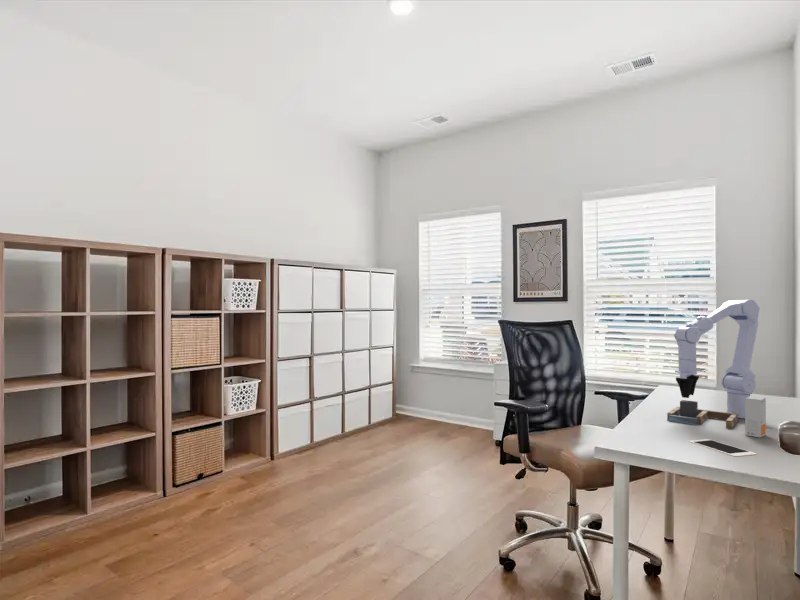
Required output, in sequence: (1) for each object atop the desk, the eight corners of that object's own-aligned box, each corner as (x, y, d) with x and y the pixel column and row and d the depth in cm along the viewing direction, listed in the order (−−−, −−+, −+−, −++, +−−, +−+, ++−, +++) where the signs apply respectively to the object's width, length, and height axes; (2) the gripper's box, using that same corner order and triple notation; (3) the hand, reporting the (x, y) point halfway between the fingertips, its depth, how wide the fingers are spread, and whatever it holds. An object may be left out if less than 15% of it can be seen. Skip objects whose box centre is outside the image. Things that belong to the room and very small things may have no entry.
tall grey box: (682, 416, 183) (682, 400, 183) (697, 418, 180) (697, 401, 180) (680, 417, 180) (679, 401, 180) (695, 419, 177) (695, 403, 177)
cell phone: (735, 458, 134) (734, 455, 134) (687, 442, 150) (687, 440, 150) (757, 455, 136) (757, 453, 136) (708, 440, 152) (708, 438, 152)
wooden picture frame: (677, 413, 190) (677, 406, 190) (737, 420, 177) (737, 413, 177) (666, 420, 177) (666, 413, 177) (730, 429, 164) (730, 421, 164)
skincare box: (761, 438, 153) (760, 399, 154) (745, 435, 157) (744, 398, 157) (766, 434, 157) (766, 397, 157) (750, 432, 161) (750, 395, 161)
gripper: (679, 357, 189) (680, 392, 188) (670, 360, 178) (670, 397, 178) (700, 358, 184) (701, 394, 184) (692, 361, 173) (693, 399, 173)
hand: (687, 396), depth 180 cm, fingers open, 7 cm apart
